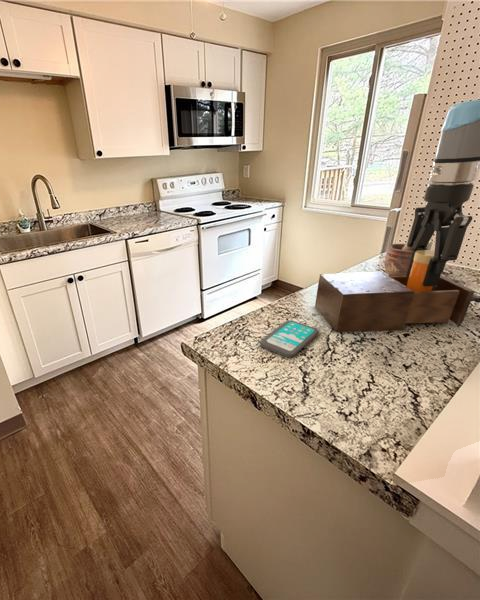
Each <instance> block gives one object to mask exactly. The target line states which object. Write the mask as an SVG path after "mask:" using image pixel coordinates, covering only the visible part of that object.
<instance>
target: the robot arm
mask: <svg viewBox="0 0 480 600" xmlns="http://www.w3.org/2000/svg"><path fill="white" fill-rule="evenodd" d="M479 173H480V99H474V100H465V101H461V102H457V103H454V104H453V105H452V106H451V107H450V108H449V110H448V112H447V114H446V117H445V120H444V122H443V126H442V128H441V134H440V137H439V141H438V145H437V150H436V154H435V157H434V160H433V165H432V168H431V172H430V175H429V179H428V180H429V182H430V183H429V184H428V185H427V186H426V189H425V193H424V197H423V201H424V202H426V204H425V206H421V207H419V206H418V207H416V208H414V218H413V222H412V224H411V227H412V229H411V228H410V230H411V232H410V231H409V233H410V236H409V235H408V237H409V239H408V238H407V239H408V243H407V247H411V251H412V255H411V259H410V265H409V269H408V272H407V277H409V275H410V271H411V268H412V264H413V261H414V260H413V259H414V255H415V252H416V251H418V250H428V249H427V248H426V247H427V245H428V243H429V241H430V240H432V237H433V235H434V234H435V240H434V241H435V242H434V251H435V252H434V259H430V262H429V265H428V269H427V272H426V275H425V279H424V282H423V286H437V285H438V281H439V278H440V275H441V276H442V275H443V273H444V270H445V267H446V264H447V263H448V262H449V261H457V260H458V257H459V253H460V251H461V248H462V245H463V241H464V239H465V235H466V232H467V228H468V227H469V225H470V224H471V222H472V221H473V216H472V215H465V214H464V213H463V204H464V203H466V202H468V201H470V198H471V195H472V193H473V190H474V183H473V182H474V181H476V180H477V178H478V175H479ZM413 241H415V242H413ZM441 255H442V256H441Z"/></svg>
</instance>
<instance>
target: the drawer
mask: <svg viewBox="0 0 480 600" xmlns="http://www.w3.org/2000/svg"><path fill="white" fill-rule="evenodd" d="M388 276H389V275H388ZM389 277H391V278H393V279H395V280H396V281H398V282H400V283H401V284H403V285H405V286H407V282H408V279H409V277H407V275H406V276H389ZM471 302H475V303H476V304H477V303H478V304H480V295H479V296H478V295H476V294H475V290H473V289H471V288H469V287H467V286H465V285H463V284H460V283H458V282H456V281H454V280H452V279H450V278H448V277H445V276H443V275H442V274H441V275H440V278H439V281H438V285H437V286H433V289H432V291H421V292H414V296H413V299H412V302H411V306H410V309H409V312H408V316H407V319H406V322H405V324H423V323H424V324H425V323H426V324H427V323H428V324H429V323H449V322H450V321H451V322H452V323H453V324H456V325H463V323H464V320H465V317H466V316H467V315H466V314H467V312H468V309H469V307H470V304H471Z"/></svg>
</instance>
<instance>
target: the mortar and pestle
mask: <svg viewBox="0 0 480 600" xmlns="http://www.w3.org/2000/svg"><path fill="white" fill-rule="evenodd" d="M411 229H412V226H411V227H410V230H409V233H408V237H407V240H406V242H405V243H391V244H388V245H387V249H386V254H385V257H384V271H385V272H386V273H387V275H388V276H406V275H407V272H408V269H409V265H410V259H411V255H412V251H411V247H407V243H408V239H409V236H410V232H411ZM413 242H415V241H413Z"/></svg>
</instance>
